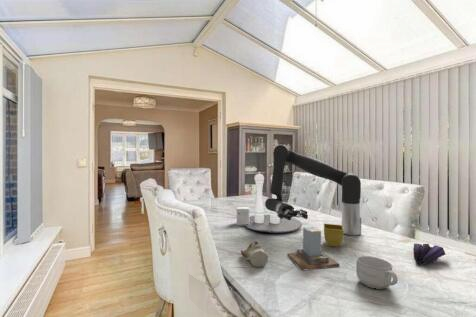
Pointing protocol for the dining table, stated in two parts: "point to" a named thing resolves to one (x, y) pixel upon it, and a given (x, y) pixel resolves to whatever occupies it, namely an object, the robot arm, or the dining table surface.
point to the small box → (243, 215)
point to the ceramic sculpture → (255, 254)
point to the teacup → (375, 272)
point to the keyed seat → (312, 260)
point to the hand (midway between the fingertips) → (298, 217)
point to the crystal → (427, 253)
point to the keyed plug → (311, 242)
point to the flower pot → (333, 234)
